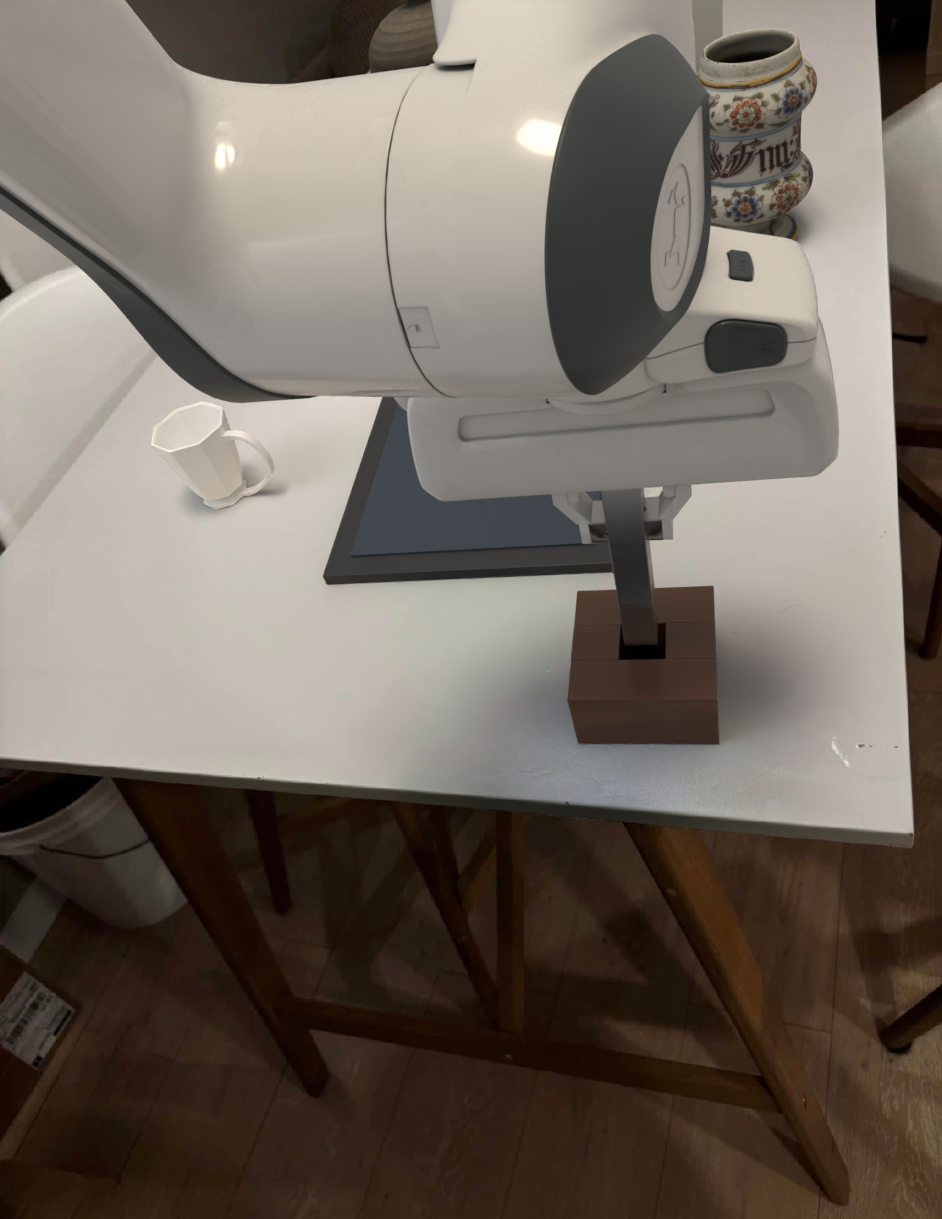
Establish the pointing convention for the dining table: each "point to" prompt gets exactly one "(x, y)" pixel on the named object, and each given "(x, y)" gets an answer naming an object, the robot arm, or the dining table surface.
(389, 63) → the pot
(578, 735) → the brown block with hole
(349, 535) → the drawing tablet
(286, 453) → the dining table surface
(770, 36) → the apothecary jar
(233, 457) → the cup
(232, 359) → the robot arm
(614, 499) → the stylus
